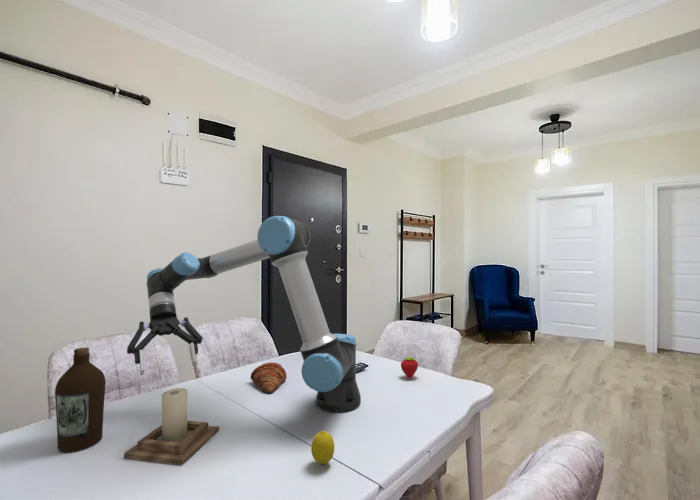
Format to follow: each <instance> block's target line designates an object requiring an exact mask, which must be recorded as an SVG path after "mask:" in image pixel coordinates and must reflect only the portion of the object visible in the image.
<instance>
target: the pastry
mask: <svg viewBox="0 0 700 500" xmlns="http://www.w3.org/2000/svg"><path fill="white" fill-rule="evenodd" d="M250 380H252V382H253V383H254V385H255V387H256V388H259V389H260V390H261V391H262V392H263V393H266V394H271V395H272V394H274V393H275V392H276V391H277V389H279V388H280V387H281V385H282V384H284V383H285V381H287V372H286V370H285V368H284V367H283V366H282V365H281V364H280V363H278V362H267V363H263V364H261V365H259V366H256V368H254V369H253V370H252V372H251V373H250Z"/></svg>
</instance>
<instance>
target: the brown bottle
mask: <svg viewBox="0 0 700 500" xmlns="http://www.w3.org/2000/svg"><path fill="white" fill-rule="evenodd" d="M73 353H74V354H73V359H72V360H73V364H72V365H71V366H70V367H69V368H68V369H67V370H66V371H65V372H64V373H63V374H62V375H61V376H60V378H59V379H58V380H57V382H56V385H55V387H54V389H55V390H54V397H55V412H56V413H55V415H56V433H57V436H56V439H57V440H56V441H57V445H56V446H57V450H58V451H59V452H61V453H66V454H67V453H75V452H79V451H83V450H86V449H88V448H91V447H93V446H95V445H96V444H98V443H99V442H100V441H101V440H102V439H103V431H104V429H103V428H104V411H105V406H104V405H105V398H106V397H105V396H106V395H105V394H106V385H107V384H106V382H107V381H106V376H105V375H104V372H103V371H102V370H101V369H100V368H99V367H97V366H95V365H94V364H93V363H91V362H90V348H89V347H79V348H75V349H74V350H73Z"/></svg>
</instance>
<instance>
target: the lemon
mask: <svg viewBox="0 0 700 500" xmlns="http://www.w3.org/2000/svg"><path fill="white" fill-rule="evenodd" d="M310 449H311V455H312V458H313V460H314V461H315V462H316V463H318V464H320V465H326V464H327V463H329V462H330V461H331V460H332V459H333V457H334V453H335V442H334V438H333V436H332V435H331V433H329V432H327V431H325V430H321V431H318V432H317V433H316V434H314V437H313V439H312V440H311V448H310Z"/></svg>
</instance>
